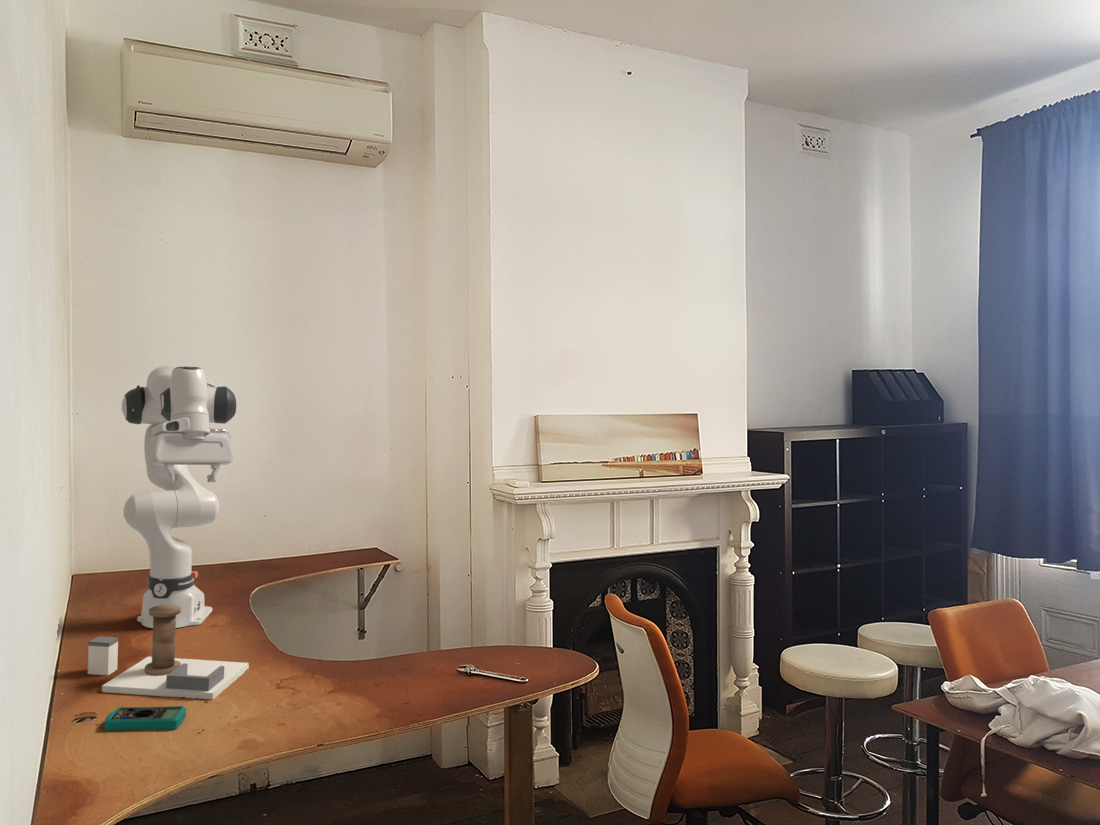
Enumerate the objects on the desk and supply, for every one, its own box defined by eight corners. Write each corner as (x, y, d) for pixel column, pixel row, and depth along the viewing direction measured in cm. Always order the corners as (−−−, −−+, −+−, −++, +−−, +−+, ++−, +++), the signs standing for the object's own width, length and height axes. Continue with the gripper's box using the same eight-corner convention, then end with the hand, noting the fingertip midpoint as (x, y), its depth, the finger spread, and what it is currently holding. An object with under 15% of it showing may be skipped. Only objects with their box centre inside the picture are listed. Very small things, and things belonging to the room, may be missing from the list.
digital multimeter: (114, 718, 175) (114, 705, 175) (187, 717, 177) (187, 704, 177) (100, 733, 168) (101, 719, 168) (177, 732, 170) (177, 718, 170)
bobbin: (155, 662, 203) (157, 603, 202) (186, 664, 203) (189, 605, 202) (137, 674, 195) (139, 612, 195) (170, 676, 195) (172, 614, 194)
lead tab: (97, 668, 202) (98, 636, 201) (117, 669, 201) (118, 637, 201) (87, 674, 198) (88, 641, 197) (107, 675, 197) (108, 642, 197)
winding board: (148, 662, 207) (148, 644, 207) (248, 668, 206) (249, 651, 206) (101, 692, 187) (102, 672, 187) (212, 699, 186) (213, 680, 186)
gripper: (224, 431, 216) (227, 483, 213) (144, 429, 201) (146, 484, 198) (236, 427, 212) (239, 479, 209) (154, 423, 197) (156, 480, 194)
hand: (193, 482), depth 204 cm, fingers open, 8 cm apart
